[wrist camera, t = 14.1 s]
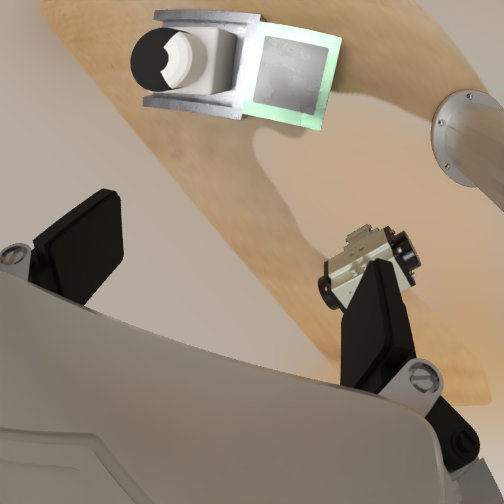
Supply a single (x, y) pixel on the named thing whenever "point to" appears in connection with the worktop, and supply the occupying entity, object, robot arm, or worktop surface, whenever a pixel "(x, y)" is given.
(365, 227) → the pneumatic valve
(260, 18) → the grey and green bracket
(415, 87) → the worktop surface
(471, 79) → the worktop surface
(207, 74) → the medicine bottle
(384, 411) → the robot arm
